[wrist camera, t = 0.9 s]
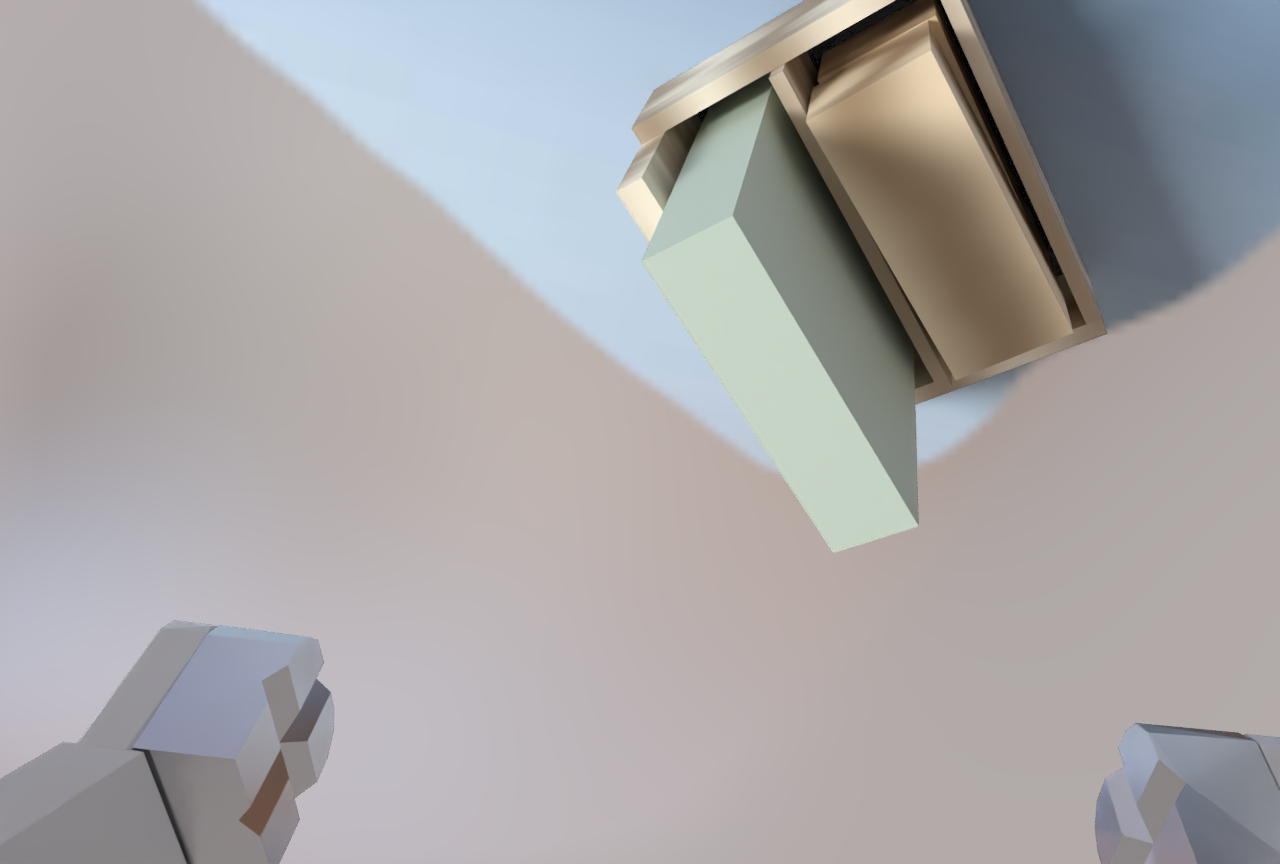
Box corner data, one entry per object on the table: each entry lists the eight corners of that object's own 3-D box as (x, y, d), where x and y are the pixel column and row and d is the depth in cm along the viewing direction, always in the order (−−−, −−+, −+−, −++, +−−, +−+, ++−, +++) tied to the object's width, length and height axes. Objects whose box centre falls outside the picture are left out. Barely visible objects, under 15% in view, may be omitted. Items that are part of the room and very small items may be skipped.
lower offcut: (932, -10, 42) (935, 15, 39) (1046, 246, 47) (1057, 286, 44) (822, 51, 44) (817, 79, 41) (943, 289, 50) (947, 330, 46)
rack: (934, -77, 40) (943, -18, 32) (1089, 279, 47) (1128, 398, 40) (654, 90, 46) (604, 174, 38) (829, 382, 54) (818, 503, 46)
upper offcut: (928, 20, 39) (930, 50, 36) (1060, 286, 44) (1073, 332, 41) (812, 88, 41) (805, 121, 38) (951, 333, 46) (955, 380, 43)
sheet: (778, 64, 45) (732, 215, 32) (912, 315, 50) (918, 526, 38) (710, 103, 46) (641, 261, 34) (848, 341, 52) (833, 553, 39)
